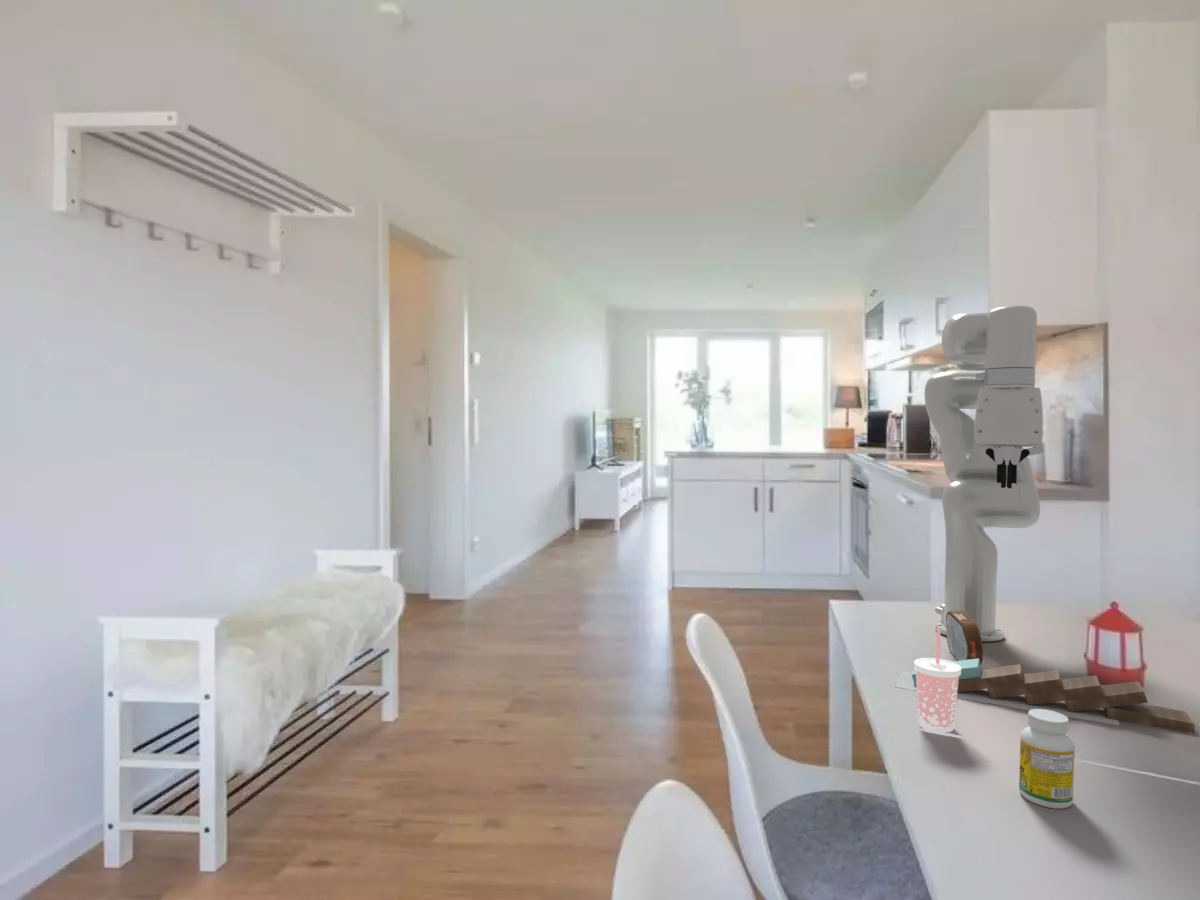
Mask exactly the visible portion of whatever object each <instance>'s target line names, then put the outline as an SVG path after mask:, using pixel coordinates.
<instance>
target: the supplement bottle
mask: <svg viewBox="0 0 1200 900" xmlns="http://www.w3.org/2000/svg"><path fill="white" fill-rule="evenodd" d="M1069 721H1070V719H1069V717H1067V716H1065V715H1063V714H1060V713H1058V712H1054V711H1050V710H1045V709H1032V710H1028V713H1027V723H1028V725H1029V726H1027V727H1025V728H1023V730H1022V731H1021V733H1020V745H1019V747H1020V749H1019V777H1018V780H1019V781H1018V791H1019V793H1020V794H1021V795H1022V797H1023V798H1025V800H1028V801H1029V802H1031V803H1033V804H1035V805H1038V806H1042V807H1045V808H1048V809H1054V810H1055V809H1056V810H1058V809H1066V808H1070V807H1071V806H1072V805H1073V802H1074V783H1075V782H1074V780H1075V754H1076V745H1075V741H1074V739H1073V738H1072V737H1071V736H1070V735H1069V734H1068V732H1069V730H1070V724H1069Z"/></svg>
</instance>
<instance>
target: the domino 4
mask: <svg viewBox="0 0 1200 900" xmlns="http://www.w3.org/2000/svg"><path fill="white" fill-rule="evenodd" d="M1061 681H1062V687H1063V690H1057V691H1049V692H1041V693H1033V694H1025V698H1026V701H1027V704H1028V705H1034V704H1042V703H1051V702H1059V701H1068V700H1076V699H1085V698H1093V697H1101V696H1103V693H1102V689H1101V686H1102V685H1101V684H1100V681H1099V678H1098V675H1090V676H1089V675H1088V676H1082V677H1073V678H1068V679H1067V678H1066V679H1061Z"/></svg>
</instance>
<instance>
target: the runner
mask: <svg viewBox="0 0 1200 900" xmlns="http://www.w3.org/2000/svg"><path fill="white" fill-rule="evenodd" d="M912 672H913V671H912ZM912 672H911V671H906V670H905V671H904V670H902V671H901V673H900V675H899V677H898V679H897V681H896V682H895V685H894V688H897V689H903V690H904V689H905V690H910V691H916V692H917V684H914V681H913V678H912ZM957 699H962V700H963V699H964V700H969V701H974V702H980V703H986V704H991V705H998V706H1003V707H1009V708H1016V709H1021V710H1027V711H1029V710H1032V709H1045V710H1050V711H1054V712H1058V713H1060V714H1063V715H1065V716H1066V717H1067V718H1075V719H1078V720H1085V721H1091V722H1097V723H1102V724H1107V725H1114V726H1120V721H1119V720H1113V719H1108V718H1106V715H1105V712H1104V709H1103V708H1097V709H1088V710H1080V711H1071V712H1068V709H1067V706H1066V703H1065V701H1059V702H1051V703H1042V704H1034V705H1028V704H1027V701H1026V698H1025V695H1017V696H1009V697H1001V698H993V699H990V696H989V693H988V690H987V689H980V690H973V691H965V692H957Z"/></svg>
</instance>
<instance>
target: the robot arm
mask: <svg viewBox="0 0 1200 900" xmlns="http://www.w3.org/2000/svg"><path fill="white" fill-rule="evenodd" d="M1037 328H1038V315H1037V311H1036V309H1034V308H1033V307H1031V306H1027V305H1008V306H1007V305H1006V306H1000V307H996V308H993V309H991V310H990V311H989V312H969V313H967V312H966V313H958V314H956V315H955V314H954V315H953V316H951V317H950V318H949V319H948V320H947V321H946V323H945V325H944V327H943V329H942V334H941V346H942V350H943V353H944V355H945V356H946V357H945V358H946V359H947V361H948V363H950V365H951V366H953V367H954V368H956V369H958V370H954V371H953V370H952V371H945V372H939V373H936V374H934V375H931V376H930V378H928V379H927V381H926V383H925V386H924V403H925V409H926V412H927V415H928V418H929V420H930V422H931V424H932V427H933V428H934V429H935V431H936V433H937V435H938V438H939V443H940V448H941V449H940V450H941V455H942V461H943V467H944V471H945V475H946V477H947V478H948V479H949V481H950V483H947V485H946V486H945V487H944V489H943V491H942V495H941V497H942V499H941V500H942V501H941V502H942V511H943V517H944V524H945V525H944V526H945V528H944V529H945V559H944V560H945V562H944V563H945V564H944V569H945V570H944V596H943V597H944V601H943V603H942V604H941V605H940V607H939V606H938V607H935V609H934V612H935V614H938V615H940V616H941V618H940V620H939V621H938V622H936V623H935V626H934V627H935V630H936V631H937V629H941V630H940V635H942V636H943V635H944V636H947V626H946V615H947V613H948V612H949V611H961V610H963V611H964V612H965V613H966V614H967V615H969V616H970V617H971V618H972V619H973V620H974V621H975V622H976V623H977V625H978V628H979V631H980V634H981V639H982V642H998V641H1001V640H1003V639H1004V637H1005V632H1004V630H1003V629H1001V628H999V627H997V626H996V625H997V624H996V623H997V622H996V620H997V619H996V617H997V586H998V585H997V584H998V583H997V582H998V557H999V556H998V548H997V545H996V544H995V543H994V541H993V540H992V538H990V536H989V535H988V534H987V533H986V532H985V530H984V529H985V528H1000V529H1001V528H1003V529H1027V528H1030V527H1033V526H1034V525H1035V524H1036V523H1037V522H1038V521H1039V519H1040V515H1041V503H1040V502H1041V501H1040V495H1039V492H1038V489H1037V485H1036V480H1035V476H1034V472H1033V470H1032V465H1031V463H1030V458H1029V456H1035V455H1039V454H1044V451H1045V449H1044V445H1043V436H1044V413H1043V398H1042V393H1041V388H1040V387H1036V365H1037V363H1036V362H1037V361H1036V360H1037V333H1038V330H1037ZM962 410H975V415H974V416H975V418H974V419H973V418H972V417H971V416H969V415H968V413H965V412H963V411H962ZM1025 447H1027V448H1025Z"/></svg>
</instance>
